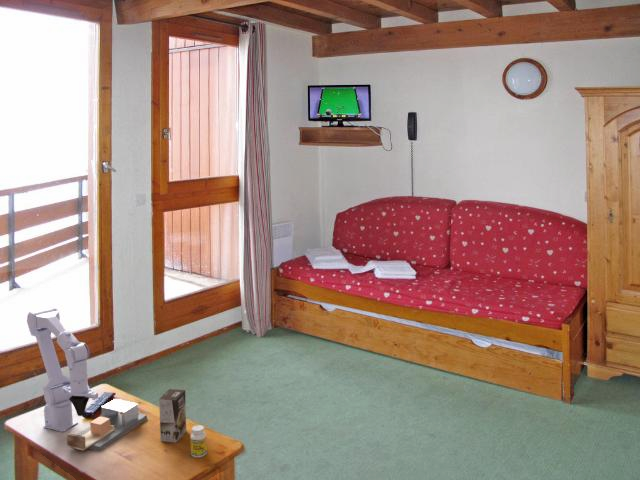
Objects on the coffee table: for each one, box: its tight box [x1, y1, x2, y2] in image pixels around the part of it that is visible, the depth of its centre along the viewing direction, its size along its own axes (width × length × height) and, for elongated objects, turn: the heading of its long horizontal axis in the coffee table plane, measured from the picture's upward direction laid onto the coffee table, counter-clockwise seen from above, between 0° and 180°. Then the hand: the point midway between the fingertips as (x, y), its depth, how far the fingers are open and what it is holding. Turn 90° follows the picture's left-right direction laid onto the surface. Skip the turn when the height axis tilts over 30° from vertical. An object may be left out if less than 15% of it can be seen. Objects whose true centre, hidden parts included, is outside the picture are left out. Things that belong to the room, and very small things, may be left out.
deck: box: [76, 412, 148, 452], centre depth 237 cm, size 13×26×2 cm, turn 158°
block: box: [89, 415, 111, 435], centre depth 232 cm, size 4×5×4 cm
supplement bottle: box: [189, 424, 208, 458], centre depth 221 cm, size 5×5×10 cm
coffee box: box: [158, 388, 187, 443], centre depth 233 cm, size 9×6×16 cm
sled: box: [66, 425, 114, 452], centre depth 228 cm, size 7×16×4 cm, turn 158°
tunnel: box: [101, 398, 139, 427], centre depth 242 cm, size 10×8×6 cm
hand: (81, 414), depth 229 cm, fingers closed
